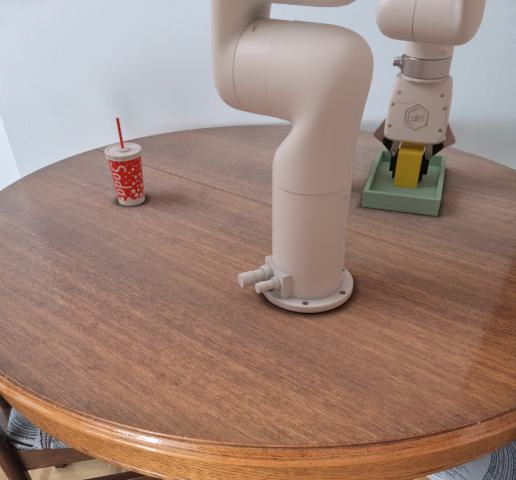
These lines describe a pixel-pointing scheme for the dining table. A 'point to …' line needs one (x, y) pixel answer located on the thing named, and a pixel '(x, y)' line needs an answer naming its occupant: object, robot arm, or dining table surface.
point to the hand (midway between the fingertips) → (407, 175)
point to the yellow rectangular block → (408, 164)
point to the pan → (402, 198)
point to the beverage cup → (126, 170)
